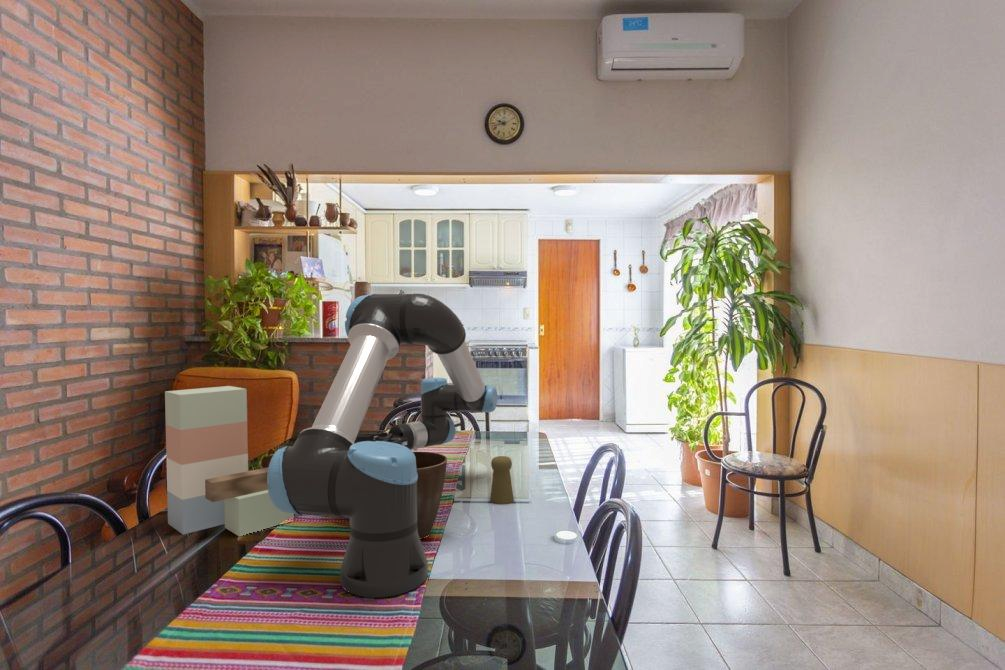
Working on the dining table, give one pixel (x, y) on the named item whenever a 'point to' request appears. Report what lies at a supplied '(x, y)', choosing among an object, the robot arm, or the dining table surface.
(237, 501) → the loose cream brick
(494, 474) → the cork
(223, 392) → the brick tower
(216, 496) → the walnut bar
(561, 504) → the dining table surface
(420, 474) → the plant pot
